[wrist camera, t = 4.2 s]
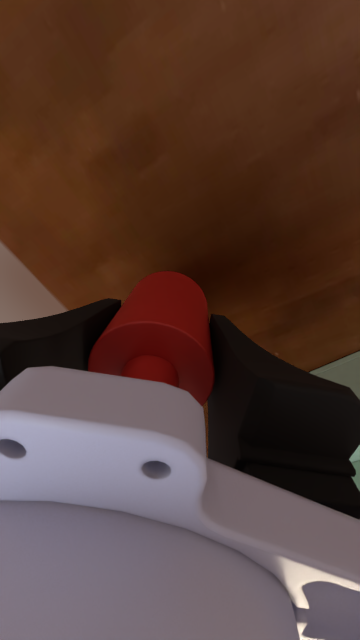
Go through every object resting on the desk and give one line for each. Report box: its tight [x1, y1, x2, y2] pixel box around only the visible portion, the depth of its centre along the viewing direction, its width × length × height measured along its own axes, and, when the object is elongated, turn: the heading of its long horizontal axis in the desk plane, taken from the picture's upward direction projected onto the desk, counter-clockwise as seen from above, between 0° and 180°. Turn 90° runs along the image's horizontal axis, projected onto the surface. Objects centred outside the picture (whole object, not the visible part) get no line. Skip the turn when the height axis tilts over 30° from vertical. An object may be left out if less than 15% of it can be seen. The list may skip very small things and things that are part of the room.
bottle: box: [88, 271, 215, 406], centre depth 10 cm, size 4×4×8 cm
